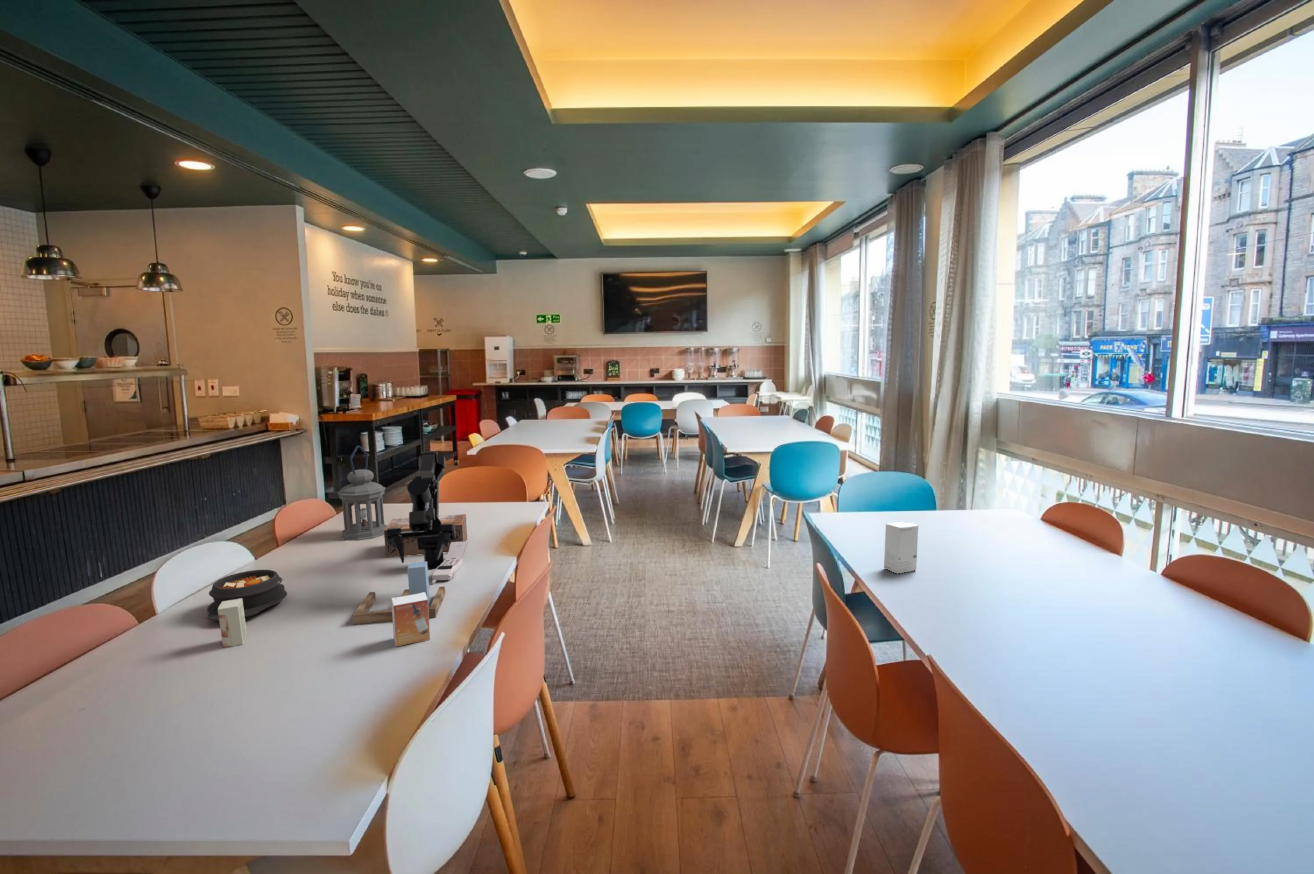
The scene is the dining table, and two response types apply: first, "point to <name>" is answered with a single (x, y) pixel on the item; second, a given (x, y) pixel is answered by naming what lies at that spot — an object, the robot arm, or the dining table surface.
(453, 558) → the mobile phone
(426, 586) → the pale blue tall block
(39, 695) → the dining table surface
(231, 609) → the skincare box
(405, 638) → the small box
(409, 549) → the tissue box cover
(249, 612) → the casserole
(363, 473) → the lantern
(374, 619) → the comb rack
